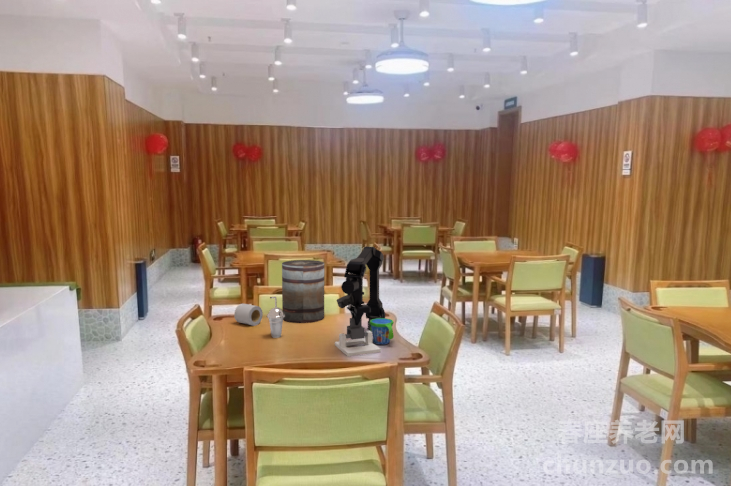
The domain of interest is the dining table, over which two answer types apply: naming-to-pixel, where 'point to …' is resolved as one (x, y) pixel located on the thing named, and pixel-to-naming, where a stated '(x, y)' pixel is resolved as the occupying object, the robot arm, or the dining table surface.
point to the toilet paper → (248, 314)
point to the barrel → (303, 291)
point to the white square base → (360, 350)
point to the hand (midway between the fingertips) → (355, 324)
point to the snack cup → (381, 330)
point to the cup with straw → (276, 320)
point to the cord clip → (356, 329)
